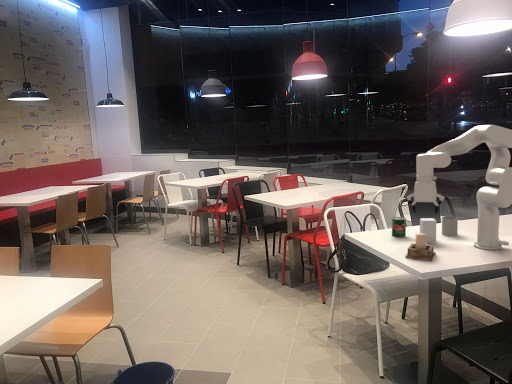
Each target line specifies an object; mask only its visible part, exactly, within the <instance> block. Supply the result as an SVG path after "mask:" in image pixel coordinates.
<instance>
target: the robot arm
mask: <svg viewBox="0 0 512 384" xmlns="http://www.w3.org/2000/svg"><path fill="white" fill-rule="evenodd" d="M482 143H485V145H486V146H487V147H488V149H489V151H490V155H491V157H490V161H489V163H488V167H487V171H486V173H485V181H486V183H487V184H490V185H493V186H482V187H481V188H479V189H478V190H477V191H476V195H475V197H476V203H477V237H476V241H475V242H473V246H474V247H475V248H477V249H481V250H482V249H483V250H489V251H490V250H491V251H493V250H501V249H502V247H503V246H509V245H510V242H509V241H506V240H501V239H500V237H499V236H500V235H499V234H500V232H499V229H500V212H499V211H500V210H499V209H500V208H501V209H507V208H508V207H510V206H511V205H512V167H510V161H511V153H510V151H509V149H512V129H510V128H506V127H503V126H499V125H495V124H483V125H482V124H481V125H476V126H474V127H472V128H470V129H469V130H467V131H466V132H464V133H463V134H461V135H460V136H458V137H456V138H455V139H451V140H449V141H446V142H444V143H441V144H439V145H437V146H435V147H434V148H431V149H430V150H428V151H427V152H425V153H419V154H417V155H416V156H415V157H416V158H415V159H416V160H415V161H416V164H415V166H416V167H415V169H416V181H414V182H415V183H414V187H413V188H414V189H413V190H414V191H413V193H411V194H409V195H407V196H406V199H407V201H408V203H409V204H410V205H411V206H412V212H413V214H416V213H417V204H416V203H432V204H434V215H437V213H439V206H440V205H441V204H442V203H443V201H444V199H445V196H443V195H442V194H439V193H437V184H436V183H437V182H436V180H437V178H438V177H437V176H434V168H438V169H441V168H443V169H444V168H446V167H448V166H450V164H451V163H452V158H451V157H452V156H458V155H463V154H466V153H468V152H470V151H471V150H473V149H474V148H475V147H478V146H479V145H481V144H482ZM494 186H499V187H494ZM412 197H413V199H411V198H412ZM438 198H439V201H438V200H437V199H438Z"/></svg>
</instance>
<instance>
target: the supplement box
mask: <svg viewBox="0 0 512 384" xmlns="http://www.w3.org/2000/svg"><path fill="white" fill-rule="evenodd" d="M419 233H424V234H426V244H436V243H437V220H436V219H435V218H434V217H432V218H431V217H430V218H429V217H427V218H423V217H422V218H419Z"/></svg>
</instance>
